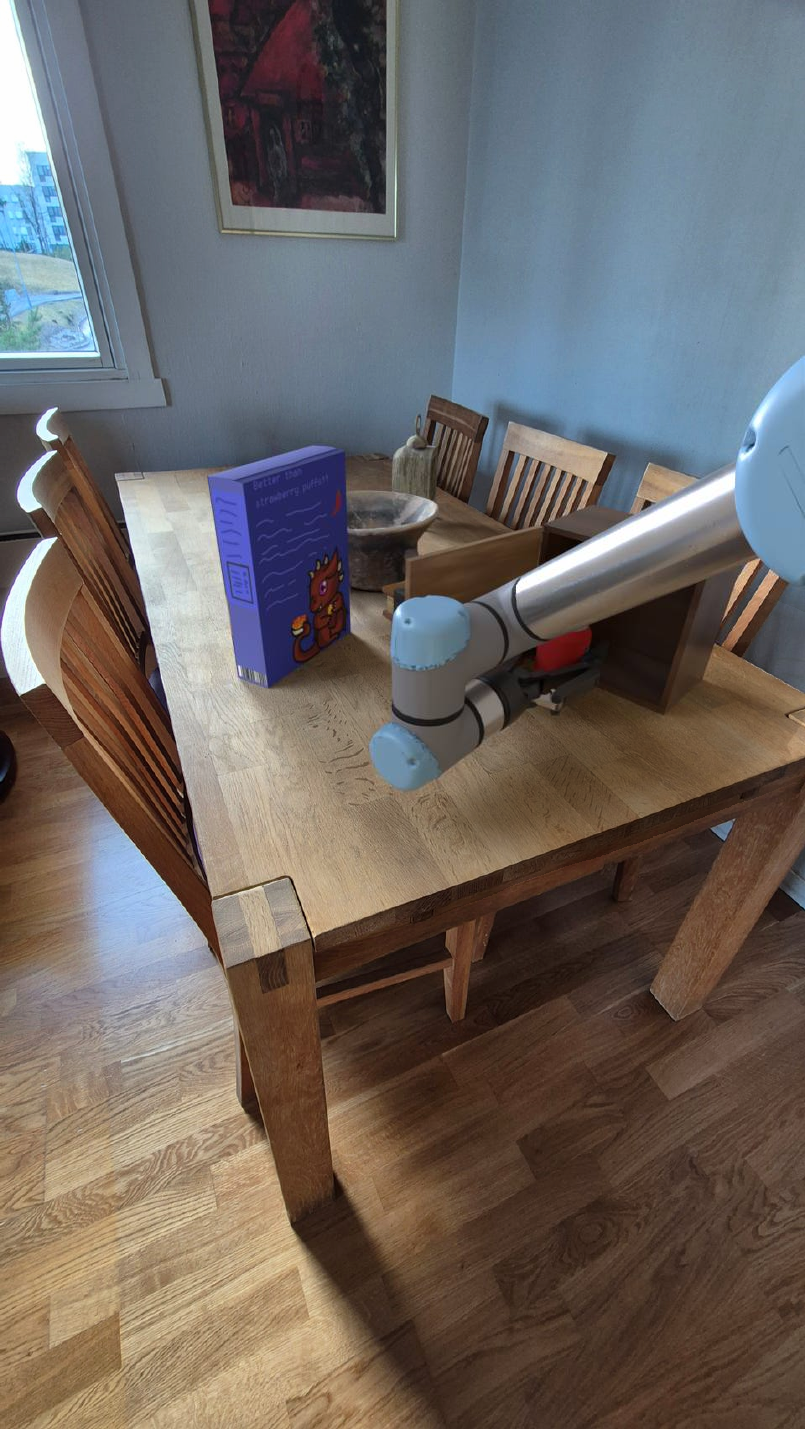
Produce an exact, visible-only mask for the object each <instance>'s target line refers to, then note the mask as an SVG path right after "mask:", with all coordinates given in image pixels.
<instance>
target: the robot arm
mask: <svg viewBox="0 0 805 1429" xmlns="http://www.w3.org/2000/svg"><path fill="white" fill-rule="evenodd" d="M634 514H635V515H633V516H631V517H630V518H628V519H626V520H624V521H622V522H620V523H618V524H617V525H615V526H613V527H611V528H609V529H607V530H606V531H604V532H602V533H600V534H598V535H596V536H594V537H593V538H591V539H589V540H587V541H585V542H583V543H581V544H580V545H578V546H576V547H574V548H572V549H570V550H569V551H567V552H565V553H563V554H561V555H559V556H557V557H556V558H554V559H552V560H550V561H548V562H546V563H544V564H543V565H541V566H539V567H538V566H537V568H535V569H533V570H531V571H530V572H528V573H526V574H525V575H523V576H520V577H518V578H516V579H514V580H512V581H511V582H509V583H507V584H505V585H503V586H501V587H499V588H498V589H496V590H493V591H491V592H489V593H487V594H485V595H483V596H481V597H479V598H477V599H475V600H473V601H470V602H467V603H465V604H462V603H460V602H459V601H457V600H454V599H452V598H448V597H443V596H426V597H424V598H419V597H415V598H412V599H409V600H407V601H405V602H403V603H402V604H401V605H400V606H398V607H397V609H396V610H395V612H394V615H393V622H392V625H391V633H390V634H391V635H390V643H389V654H390V660H391V692H392V693H391V694H392V695H391V696H392V698H391V705H390V709H391V710H390V714H391V715H390V716H391V717H390V718H391V720H390V722H388V723H384V724H383V726H382V727H380V729H378V730H376V731H375V732H374V734H373V736H372V738H371V740H370V742H369V755H370V759H371V761H372V765H373V766H374V768H375V770H376V772H377V773H378V775H379V776H380V778H382V779H383V781H384V782H386V783H387V784H388V785H389V786H392V787H393V788H394V789H395V790H397V791H401V792H405V793H410V792H415V791H417V790H419V789H421V788H422V787H424V786H425V785H428V784H429V783H431V782H432V781H435V780H438V779H439V778H441V776H442V775H443V774H444V773H446V772H447V771H448V770H450V769H451V768H452V767H454V766H456V764H459V762H460V761H462V760H463V759H464V758H466V757H467V756H468V755H470V754H471V753H473V752H474V751H475V750H476V749H479V747H481V746H482V745H483V744H485V743H486V742H487V741H489V740H490V739H492V738H493V737H495V736H496V735H498V733H499V732H502V731H503V730H504V729H506V728H508V727H509V726H510V725H512V724H514V722H516V721H518V720H519V719H520V717H522V715H523V714H524V713H525V712H526V710H530V709H534V708H537V707H538V706H541V707H545V708H548V709H549V711H548V713H549V714H550V715H551V716H554V717H555V716H557V717H558V716H559V715H560V714H561V713H562V711H563V709H564V708H565V707H567V706H568V705H571V704H572V702H573V703H575V702H577V700H580V699H581V698H583V697H584V696H586V695H588V694H589V693H591V692H593V691H595V690H597V689H598V683H599V679H600V674H601V670H600V668H601V663H602V662H603V661H604V660H606V656H607V651H608V647H609V643H610V642H608V641H605V640H604V641H603V642H601V643H600V644H599V645H597V646H596V647H594V648H593V649H591V650H590V651H588V652H587V653H585V654H584V655H582V656H581V657H580V660H579V663H575V664H572V665H568V666H564V667H561V668H557V669H553V670H550V671H544V670H543V669H541V670H537V671H534V672H533V671H527V670H525V669H524V668H522V665H523V664H524V662H525V660H526V658H527V657H526V656H527V652H529V656H532V657H534V656H536V650H537V646H539V645H541V644H544V643H546V642H549V641H551V640H553V639H555V638H557V637H560V636H562V635H565V634H567V633H570V632H573V631H575V630H578V629H580V628H583V627H585V626H588V625H590V624H593V623H595V622H598V621H600V620H603V619H606V618H608V617H611V616H613V615H616V614H618V613H621V612H623V611H626V610H628V609H631V608H634V607H636V606H639V605H641V604H644V603H646V602H649V601H651V600H654V599H656V598H659V597H662V596H664V595H667V594H669V593H672V592H674V591H677V590H679V589H682V588H684V587H687V586H690V585H692V584H695V583H697V582H700V581H702V580H705V579H707V578H710V577H712V576H715V575H718V574H720V573H723V572H725V571H728V570H730V569H733V568H735V567H738V566H740V565H741V566H742V565H746V564H748V563H751V562H754V561H756V560H758V559H759V560H760V561H761V562H762V563H763V564H764V565H765V566H766V567H767V568H768V569H769V570H770V571H772V572H773V573H774V574H775V575H776V576H778V577H779V578H780V579H782V580H784V581H785V582H787V583H788V584H790V585H792V586H795V587H797V588H802V589H804V590H805V354H804V355H803V356H802V357H801V358H800V359H798V360H797V361H796V362H794V364H792V366H790V368H789V369H787V370H786V372H785V373H783V375H782V376H781V377H779V379H778V380H777V381H776V382H775V384H773V386H772V387H771V389H770V390H769V391H768V392H767V394H766V395H765V397H764V398H763V400H762V401H761V403H760V404H759V406H758V408H757V409H756V411H755V413H754V414H753V417H752V418H751V420H750V422H749V424H748V426H747V429H746V430H745V434H744V437H743V439H742V443H741V446H740V449H739V451H738V455H737V459H735V460H733V461H732V462H729V463H728V464H725V465H724V466H722V467H721V468H720V467H719V468H718V469H717V470H715V471H713V472H711V473H709V474H707V475H705V476H703V477H701V478H699V479H698V480H696V481H695V482H693V483H690V484H688V485H687V486H685V487H683V488H681V489H679V490H677V491H676V492H674V493H672V494H670V495H668V496H667V497H665V498H663V499H661V500H659V501H658V502H656V503H653V504H652V505H650V506H648V507H646V508H644V509H643V510H640V511H639V512H637V513H634ZM504 661H505V663H504V664H503V665H502V667H497V666H498V665H499V664H501V663H502V662H504ZM549 692H550V693H549ZM547 693H548V694H547ZM546 694H547V695H546ZM574 701H575V702H574ZM570 703H571V704H570Z"/></svg>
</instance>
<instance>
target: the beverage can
mask: <svg viewBox="0 0 805 1429" xmlns="http://www.w3.org/2000/svg"><path fill="white" fill-rule="evenodd" d="M591 637H592V632H591V629H590V627H589V625H588V626H585V627H583V628H580V629H578V630H575V631H573V632H570V633H567V634H565V635H562V636H560V637H557V638H555V639H553V640H551V641H549V642H546V643H544V644H541V645H539V646H537V650H536V656H535V661H534V662H533V669H532V672H534V671H537V670H541V669H543V670H544V671H550V670H553V669H557V668H561V667H564V666H568V665H572V664H575V663H579V660H580V657H581V656H582V655H584V654H585V653H587V652H588V651H589V647H590V642H591ZM549 693H550V692H549ZM547 694H548V693H547ZM547 694H546V695H547ZM575 702H576V701H574V702H572V703H575ZM572 703H570V704H569V705H571V704H572Z"/></svg>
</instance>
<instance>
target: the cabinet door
mask: <svg viewBox="0 0 805 1429" xmlns="http://www.w3.org/2000/svg"><path fill="white" fill-rule="evenodd" d="M543 528H544V526H542V525H539V524H537V525H534V526H530V527H526V528H522V529H518V530H513V531H510V532H506V533H502V534H498V535H495V536H490V537H487V538H482V539H479V540H475V541H471V542H467V543H463V544H458V545H455V546H452V547H447V548H443V549H438V550H436V551H432V552H427V553H424V554H421V555H420V554H419V556H416V557H412V558H408V559H406V579H405V589H404V588H401V587H397V588H395V589H394V612H395V610H396V609H397V607H398V606H400V605H401V604H402V603H403V602H405V601H407V600H409V599H412V598H415V597H419V598H424V597H426V596H443V597H448V598H452V599H454V600H457V601H459V602H460V603H462V604H465V603H467V602H470V601H473V600H475V599H477V598H479V597H481V596H483V595H485V594H487V593H489V592H491V591H493V590H496V589H498V588H499V587H501V586H503V585H505V584H507V583H509V582H511V581H512V580H514V579H516V578H518V577H520V576H523V575H525V574H526V573H528V572H530V571H531V570H533V569H535V568H537V567H538V561H539V555H540V548H541V541H542V535H543ZM504 663H505V661H504V662H502V663H501V664H499V665H498V666H497V667H502V665H503V664H504Z"/></svg>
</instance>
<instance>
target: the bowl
mask: <svg viewBox="0 0 805 1429" xmlns="http://www.w3.org/2000/svg"><path fill="white" fill-rule="evenodd" d="M346 496H347V527H348V559H349V588H354V589H356V590H364V591H371V592H372V591H373V592H374V591H375V592H377V591H378V592H381V591H382V587H384V586H387V585H391V584H395V583H399V582H403V581H405V579H406V559H408V558H412V557H416V556H420V553H419V549H418V544H419V540H420V539H421V538H422V537H423V535H424V534H425V532H427V530H428V529H429V528H430V527H431V526H432V525H433V524H434V523H435V521H436V520H437V519H438V518H439V515H440V513H441V507H440V505H439V504H438V503H434V502H433V501H431V500H429V499H426V498H422V497H419V496H415V495H411V494H404V493H397V492H392V491H388V490H387V491H386V490H385V491H383V490H350V491H346Z"/></svg>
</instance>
